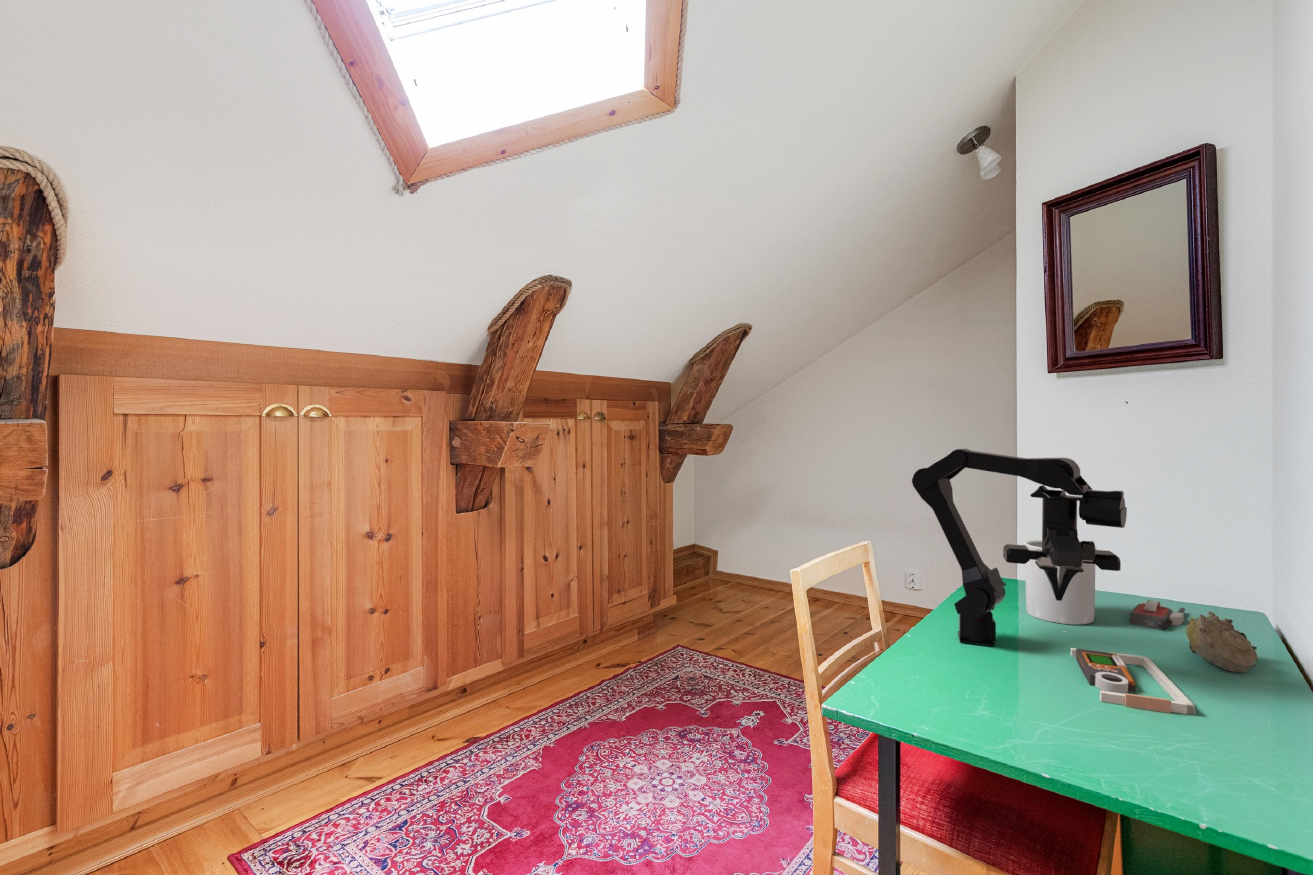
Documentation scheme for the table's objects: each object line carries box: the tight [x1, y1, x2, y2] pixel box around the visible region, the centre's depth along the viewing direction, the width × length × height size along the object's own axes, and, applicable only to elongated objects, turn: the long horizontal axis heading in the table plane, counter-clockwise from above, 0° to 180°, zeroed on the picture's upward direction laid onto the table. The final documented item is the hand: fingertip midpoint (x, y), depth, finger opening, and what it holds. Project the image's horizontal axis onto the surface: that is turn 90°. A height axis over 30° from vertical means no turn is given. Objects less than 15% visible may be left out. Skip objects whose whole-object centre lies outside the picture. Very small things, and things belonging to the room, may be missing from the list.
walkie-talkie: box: [1129, 599, 1186, 631], centre depth 145 cm, size 9×4×20 cm
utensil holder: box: [1023, 538, 1098, 626], centre depth 147 cm, size 15×15×18 cm
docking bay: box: [1070, 647, 1196, 716], centre depth 110 cm, size 12×23×2 cm, turn 157°
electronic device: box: [1075, 647, 1137, 694], centre depth 112 cm, size 7×3×15 cm
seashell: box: [1186, 611, 1258, 674], centre depth 119 cm, size 11×14×10 cm
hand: (1058, 600), depth 120 cm, fingers closed
